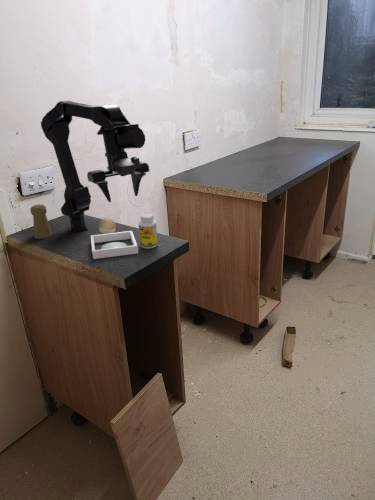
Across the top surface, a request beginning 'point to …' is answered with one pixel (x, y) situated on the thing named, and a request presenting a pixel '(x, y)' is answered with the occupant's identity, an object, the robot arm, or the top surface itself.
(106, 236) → the white square frame
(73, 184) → the robot arm
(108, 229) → the wooden ball
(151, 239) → the supplement bottle
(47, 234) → the cork
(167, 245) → the top surface
